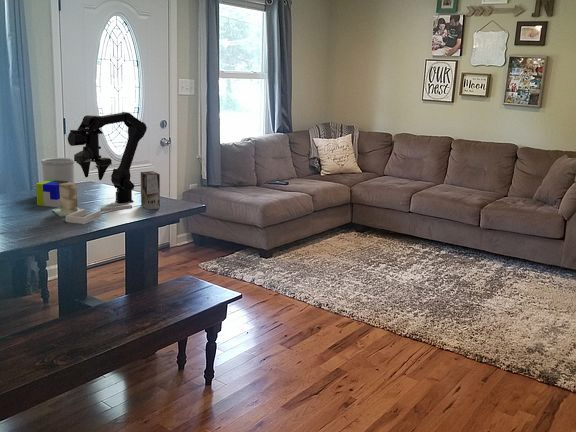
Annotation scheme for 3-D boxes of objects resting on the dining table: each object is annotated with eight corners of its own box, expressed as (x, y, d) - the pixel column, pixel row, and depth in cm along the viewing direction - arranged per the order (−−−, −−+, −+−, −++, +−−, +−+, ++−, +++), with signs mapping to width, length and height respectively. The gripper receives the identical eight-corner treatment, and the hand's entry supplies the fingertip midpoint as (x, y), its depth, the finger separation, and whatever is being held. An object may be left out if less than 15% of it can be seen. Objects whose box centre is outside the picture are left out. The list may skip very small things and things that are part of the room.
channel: (83, 214, 257) (82, 209, 256) (100, 216, 255) (100, 210, 254) (65, 221, 244) (65, 216, 243) (84, 223, 242) (83, 218, 242)
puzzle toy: (57, 207, 268) (56, 185, 265) (37, 205, 270) (35, 183, 267) (69, 202, 277) (68, 181, 275) (50, 200, 279) (48, 179, 277)
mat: (77, 208, 267) (77, 206, 267) (86, 213, 259) (86, 212, 259) (52, 210, 261) (52, 209, 260) (60, 216, 252) (60, 215, 252)
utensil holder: (39, 193, 292) (37, 158, 288) (70, 190, 301) (68, 156, 297) (48, 199, 281) (46, 162, 277) (80, 196, 290) (78, 160, 286)
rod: (130, 208, 273) (130, 204, 273) (132, 208, 272) (132, 205, 272) (100, 211, 265) (100, 207, 265) (102, 212, 264) (102, 208, 263)
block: (70, 208, 263) (68, 182, 260) (77, 210, 260) (76, 183, 257) (60, 210, 259) (59, 183, 256) (68, 212, 256) (66, 185, 253)
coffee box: (160, 208, 273) (160, 174, 269) (146, 209, 270) (146, 174, 266) (154, 204, 281) (153, 170, 277) (140, 205, 277) (140, 171, 273)
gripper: (63, 143, 262) (64, 178, 266) (91, 148, 253) (92, 184, 257) (83, 141, 272) (85, 175, 275) (111, 145, 262) (112, 180, 266)
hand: (93, 178), depth 268 cm, fingers open, 9 cm apart
